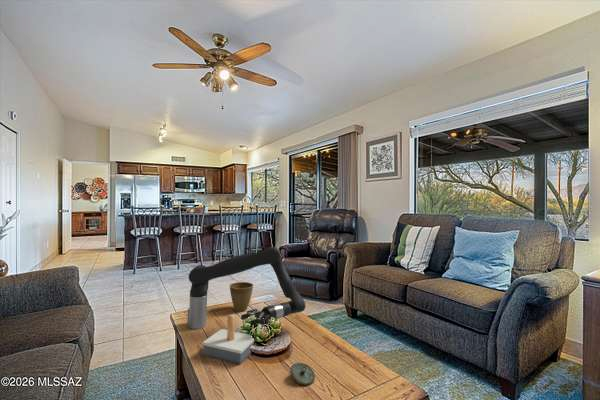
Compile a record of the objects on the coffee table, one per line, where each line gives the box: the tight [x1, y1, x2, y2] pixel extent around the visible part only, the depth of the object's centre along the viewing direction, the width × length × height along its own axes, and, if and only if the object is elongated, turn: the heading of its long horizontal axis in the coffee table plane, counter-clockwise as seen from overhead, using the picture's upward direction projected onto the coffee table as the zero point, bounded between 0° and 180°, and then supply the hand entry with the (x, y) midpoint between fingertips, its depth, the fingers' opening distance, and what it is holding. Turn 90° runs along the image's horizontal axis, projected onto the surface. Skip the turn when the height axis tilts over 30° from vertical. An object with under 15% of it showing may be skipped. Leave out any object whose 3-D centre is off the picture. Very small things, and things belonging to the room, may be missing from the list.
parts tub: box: [203, 342, 254, 365], centre depth 135 cm, size 19×14×5 cm
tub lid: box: [202, 313, 254, 354], centre depth 135 cm, size 20×15×14 cm
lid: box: [289, 362, 316, 386], centre depth 117 cm, size 11×10×5 cm
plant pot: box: [229, 281, 254, 313], centre depth 187 cm, size 15×15×16 cm
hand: (246, 320), depth 140 cm, fingers open, 8 cm apart
